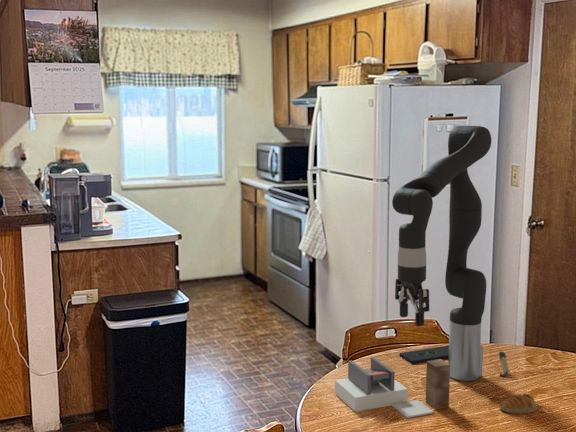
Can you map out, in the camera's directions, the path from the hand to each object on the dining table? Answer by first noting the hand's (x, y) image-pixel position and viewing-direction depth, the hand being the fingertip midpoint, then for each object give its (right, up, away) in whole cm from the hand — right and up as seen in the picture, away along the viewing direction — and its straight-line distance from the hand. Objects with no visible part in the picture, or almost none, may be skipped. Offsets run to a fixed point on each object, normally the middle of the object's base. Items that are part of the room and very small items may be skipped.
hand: (411, 321), depth 187 cm
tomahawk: (+36, -19, +31) cm, 51 cm away
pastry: (+29, -24, -1) cm, 38 cm away
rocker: (-10, -16, +5) cm, 20 cm away
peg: (+7, -23, +2) cm, 24 cm away
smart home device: (+14, -18, +39) cm, 46 cm away
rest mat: (0, -24, -1) cm, 24 cm away
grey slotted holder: (-10, -23, +6) cm, 26 cm away
